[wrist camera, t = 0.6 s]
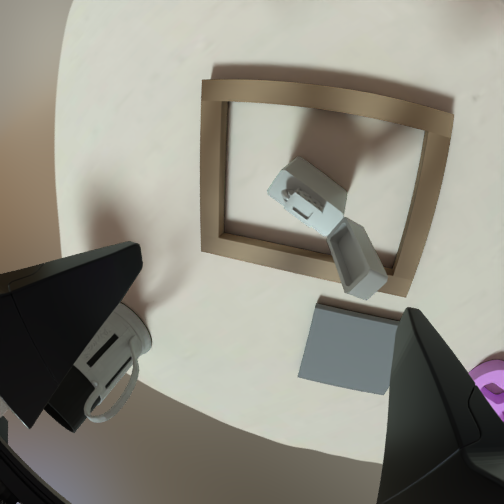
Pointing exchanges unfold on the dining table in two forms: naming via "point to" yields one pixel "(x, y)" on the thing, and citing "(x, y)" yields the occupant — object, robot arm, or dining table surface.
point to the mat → (349, 350)
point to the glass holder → (101, 370)
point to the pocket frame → (327, 99)
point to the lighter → (330, 225)
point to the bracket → (491, 373)
